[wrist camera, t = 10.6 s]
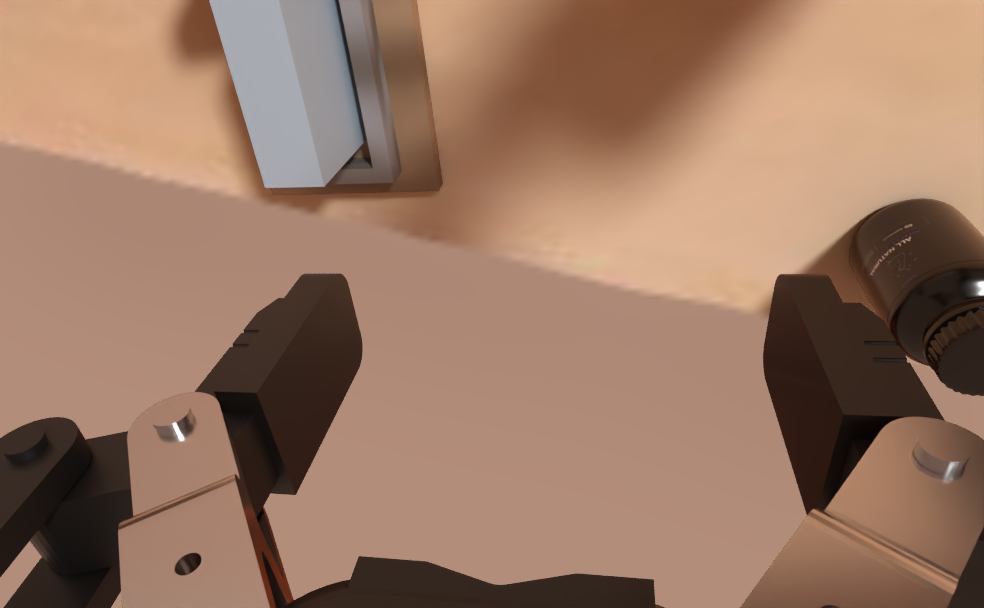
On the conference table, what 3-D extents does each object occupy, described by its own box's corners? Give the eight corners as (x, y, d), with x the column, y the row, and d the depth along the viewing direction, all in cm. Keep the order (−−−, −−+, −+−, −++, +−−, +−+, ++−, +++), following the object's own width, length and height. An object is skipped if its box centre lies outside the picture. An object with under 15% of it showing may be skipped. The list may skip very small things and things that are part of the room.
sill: (193, -109, 36) (85, -103, 29) (397, -133, 34) (338, -133, 27) (280, 188, 46) (215, 250, 39) (442, 183, 44) (408, 248, 37)
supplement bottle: (853, 199, 41) (931, 305, 31) (976, 190, 39) (1100, 298, 29) (838, 291, 44) (904, 412, 34) (951, 285, 43) (1053, 410, 33)
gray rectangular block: (277, -32, 37) (205, -11, 30) (335, -37, 36) (275, -16, 30) (318, 138, 42) (264, 187, 36) (368, 136, 42) (324, 186, 35)
